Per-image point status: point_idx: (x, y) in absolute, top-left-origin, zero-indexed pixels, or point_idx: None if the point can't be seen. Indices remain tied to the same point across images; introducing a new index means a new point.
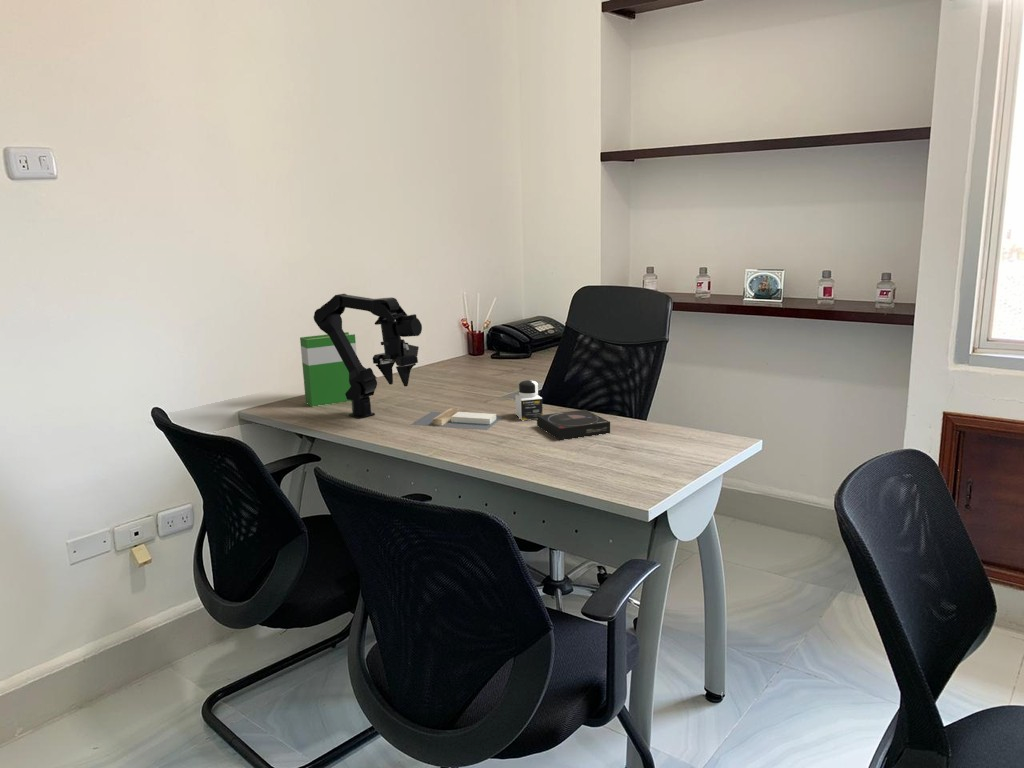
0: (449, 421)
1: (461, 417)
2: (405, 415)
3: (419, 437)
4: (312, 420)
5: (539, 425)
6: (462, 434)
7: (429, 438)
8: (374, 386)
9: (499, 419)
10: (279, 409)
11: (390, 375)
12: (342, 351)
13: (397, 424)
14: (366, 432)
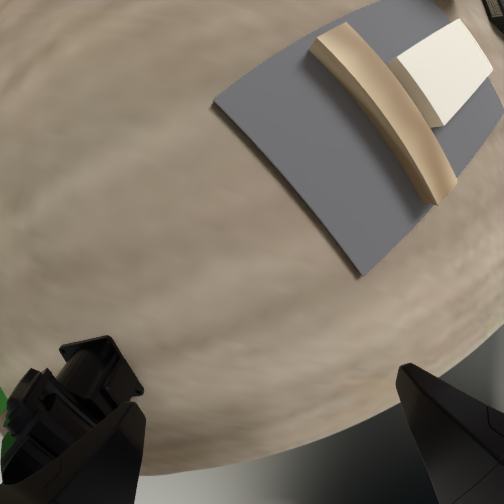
0: None
1: (461, 106)
2: (175, 228)
3: (464, 288)
4: None
5: (500, 25)
6: (499, 174)
7: (482, 267)
8: (68, 422)
9: (443, 15)
10: None
11: (107, 468)
12: None
13: (305, 310)
14: (323, 406)
